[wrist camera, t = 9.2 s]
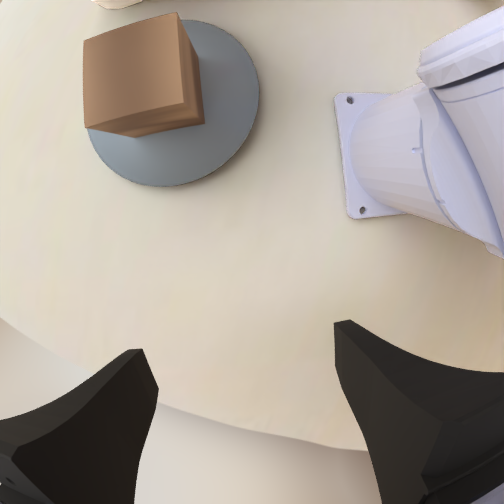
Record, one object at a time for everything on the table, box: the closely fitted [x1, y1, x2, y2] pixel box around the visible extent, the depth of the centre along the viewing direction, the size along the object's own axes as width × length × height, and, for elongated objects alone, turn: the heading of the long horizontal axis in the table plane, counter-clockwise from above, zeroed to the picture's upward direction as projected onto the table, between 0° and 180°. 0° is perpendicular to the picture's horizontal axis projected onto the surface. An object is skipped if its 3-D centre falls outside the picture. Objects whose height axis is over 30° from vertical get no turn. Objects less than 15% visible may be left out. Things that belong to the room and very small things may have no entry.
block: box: [83, 12, 205, 138], centre depth 13 cm, size 4×4×6 cm
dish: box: [87, 20, 259, 187], centre depth 16 cm, size 11×11×1 cm
